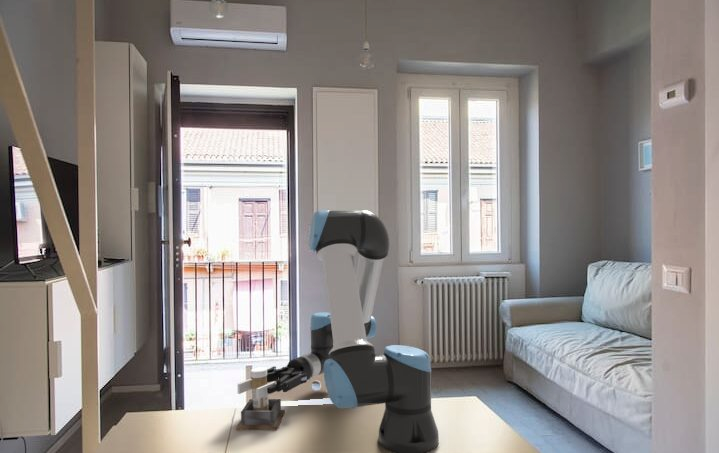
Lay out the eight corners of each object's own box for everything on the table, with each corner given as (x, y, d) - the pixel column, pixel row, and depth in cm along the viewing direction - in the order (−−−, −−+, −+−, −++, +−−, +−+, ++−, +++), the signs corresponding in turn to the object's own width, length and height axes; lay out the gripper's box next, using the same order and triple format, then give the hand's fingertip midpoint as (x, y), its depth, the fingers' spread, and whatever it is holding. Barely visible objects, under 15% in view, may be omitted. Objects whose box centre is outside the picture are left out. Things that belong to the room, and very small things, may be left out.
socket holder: (284, 413, 131) (284, 397, 131) (277, 430, 120) (276, 413, 120) (247, 413, 131) (247, 397, 131) (236, 430, 120) (236, 413, 120)
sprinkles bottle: (272, 417, 125) (269, 369, 125) (256, 421, 122) (253, 372, 123) (265, 412, 129) (263, 365, 129) (250, 416, 126) (248, 369, 126)
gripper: (328, 386, 135) (274, 413, 116) (280, 375, 146) (223, 398, 126) (327, 361, 135) (273, 384, 116) (280, 352, 146) (223, 371, 126)
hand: (247, 391), depth 121 cm, fingers open, 7 cm apart
